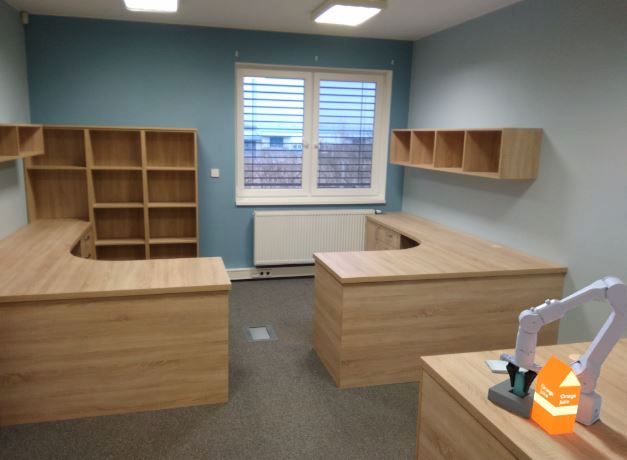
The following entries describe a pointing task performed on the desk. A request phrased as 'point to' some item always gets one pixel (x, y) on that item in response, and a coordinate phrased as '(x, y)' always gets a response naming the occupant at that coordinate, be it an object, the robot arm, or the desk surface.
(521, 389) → the peg
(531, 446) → the desk surface
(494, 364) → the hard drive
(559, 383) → the orange juice
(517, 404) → the socket block
